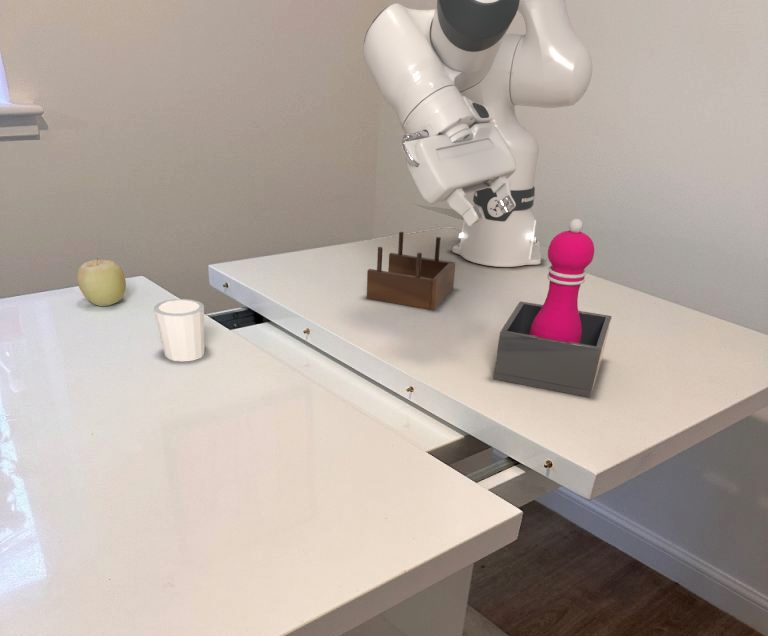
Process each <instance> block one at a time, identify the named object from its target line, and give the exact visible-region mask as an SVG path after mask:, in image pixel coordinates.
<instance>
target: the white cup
mask: <svg viewBox="0 0 768 636" xmlns="http://www.w3.org/2000/svg"><path fill="white" fill-rule="evenodd" d="M153 313H154V316H155V320H156V324H157V329H158V334H159V338H160V341H161V344H162V350H163V353H164V356H165V358H166V359H168V360H170V361H173V362H192V361H196V360H198V359H201V358H203V357H204V356H205V352H206V351H205V305H204V304H203V303H202V302H201V301H198V300H194V299H189V298H175V299H168V300H167V299H166V300H163V301H161V302H158V303H157V304H155V305H154V307H153Z"/></svg>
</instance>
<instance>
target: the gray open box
mask: <svg viewBox="0 0 768 636" xmlns="http://www.w3.org/2000/svg"><path fill="white" fill-rule="evenodd" d="M543 305H544V304H539V303H533V302H527V301H519V302H518V303H517V305H516V306H515V309H514V310H513V311H512V312H511V314H510V316H509V318H508V319H507V321H506V322H505V323H504V325H503V326H502V328H501V330H500V331H499V337H498V344H497V349H496V356H495V357H496V358H495V364H494V372H493V380H496V381H503V382H506V383H507V382H508V383H513V384H516V385H517V384H518V385H523V386H527V387H532V388H533V387H534V388H539V389H544V390H549V391H555V392H559V393H565V394H570V395H576V396H581V397H586V398H591V396H592V393H593V391H594V386H595V383H596V380H597V377H598V374H599V369H600V366H601V363H602V360H603V355H604V352H605V347H606V342H607V339H608V335H609V330H610V326H611V321H612V315H608V314H603V313H602V314H601V313H596V312H588V311H583V310H578V312H579V317H580V321H581V329H582V334H581V341H580V343H574V342H568V341H562V340H556V339H550V338H545V337H539V336H533V335H529V333H530V329H531V325H532V323H533V321H534V319H535V317H536V316H537V314H538V313H539V311H540V310H541V308H542V306H543Z"/></svg>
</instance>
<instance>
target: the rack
mask: <svg viewBox="0 0 768 636" xmlns="http://www.w3.org/2000/svg"><path fill="white" fill-rule="evenodd" d="M404 233H405V232H404V231H399V232H398V246H397V249H398V250H397V253H395V252H390V253H388V271H386V270H382V268H383V267H382V266H383V247H382V246H377V254H376V255H377V259H376V269H373V268H369V269H367V272H366V273H367V274H366V276H367V277H366V300H372V301H379V302H383V303H390V304H394V305H395V304H397V305H401V306H402V305H403V306H408V307H413V308H414V307H415V308H420V309H426V310H431V311H435V310H436V309H437V308H438V307H439V306H440V305H441V303H442V302H444V301H445V299H446V298H447V297H448V296H449V295H450V294H451V293H452V291H453V290H454V284H455V276H456V275H455V274H456V264H457V263H456V262H455V261H451V260H450V261H449V260H443V259H440V250H441V239H442V237H441V236H436V237H435V248H434V258H429V257H423V253H422V252H417V253H416V255H410V254H403V252H404V249H403V248H404V236H405V235H404Z"/></svg>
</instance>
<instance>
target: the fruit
mask: <svg viewBox="0 0 768 636" xmlns="http://www.w3.org/2000/svg"><path fill="white" fill-rule="evenodd" d="M100 257H101V255H100V254H98V255H97V258H96V259H92V260H88V261H86V262H84V263H83V264H81V265H80V266H79V268H78V270H77V273H76V282H77V286H78V288H79V290H80V291H81V294H82V295H83V297H85V298H86V300H88V302H90V303H91V304H93V305H95V306H99V307H106V306H107V307H108V306H112V305H114V304H116V303H118V302H119V301H121V299H122V298H123V297H124V296H125V292H126V287H127V281H126V277H125V274H124V272H123V270H122V268H121V266H120V265H118V263H116V262H115V261H113V260H111V259H100Z"/></svg>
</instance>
